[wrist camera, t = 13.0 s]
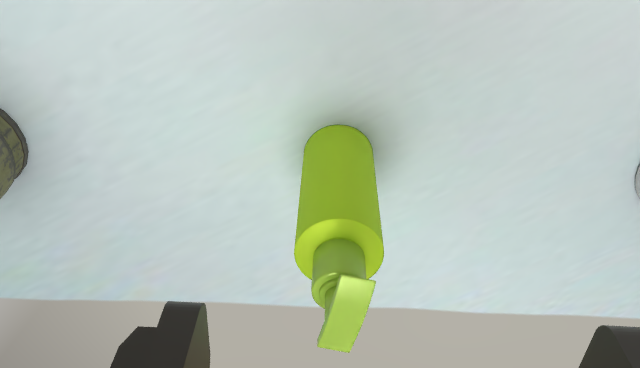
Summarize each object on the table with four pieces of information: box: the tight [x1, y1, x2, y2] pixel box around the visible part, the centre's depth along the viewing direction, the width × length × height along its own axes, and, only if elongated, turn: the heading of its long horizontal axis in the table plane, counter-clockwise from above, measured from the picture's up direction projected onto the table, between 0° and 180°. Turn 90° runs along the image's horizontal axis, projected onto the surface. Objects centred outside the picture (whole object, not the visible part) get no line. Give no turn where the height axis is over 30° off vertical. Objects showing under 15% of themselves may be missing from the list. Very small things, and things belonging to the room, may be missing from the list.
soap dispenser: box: [294, 125, 384, 353], centre depth 38 cm, size 6×7×20 cm
